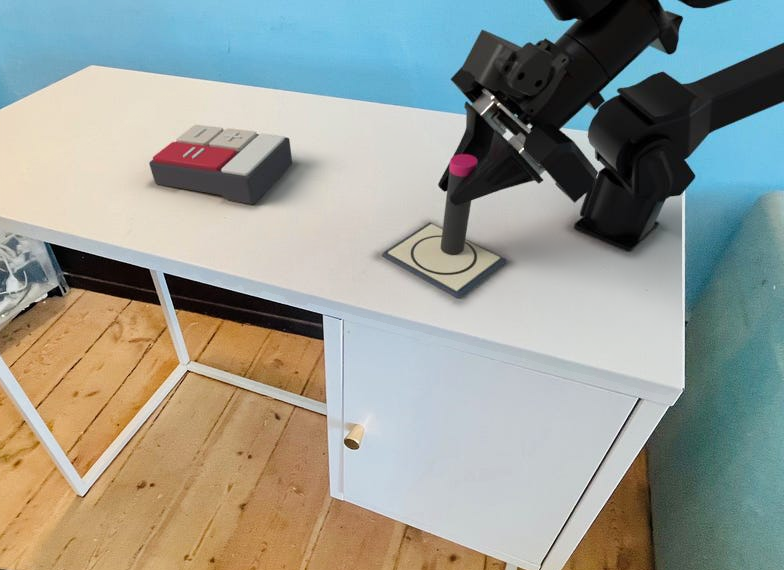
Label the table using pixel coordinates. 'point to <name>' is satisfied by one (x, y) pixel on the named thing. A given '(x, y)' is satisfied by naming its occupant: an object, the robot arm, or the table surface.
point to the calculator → (223, 162)
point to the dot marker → (459, 214)
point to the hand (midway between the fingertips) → (446, 195)
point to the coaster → (443, 261)
